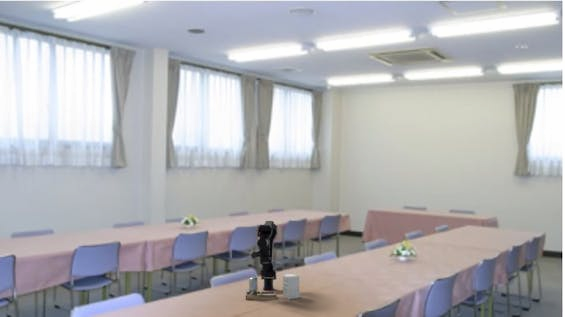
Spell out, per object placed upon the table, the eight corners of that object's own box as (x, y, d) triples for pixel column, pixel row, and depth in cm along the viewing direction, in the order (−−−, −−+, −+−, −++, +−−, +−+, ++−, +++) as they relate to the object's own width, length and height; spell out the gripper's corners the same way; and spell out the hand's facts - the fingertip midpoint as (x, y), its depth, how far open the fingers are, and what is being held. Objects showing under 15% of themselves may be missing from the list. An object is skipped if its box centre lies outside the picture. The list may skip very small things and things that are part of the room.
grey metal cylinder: (248, 295, 296) (248, 277, 296) (256, 294, 297) (256, 277, 298) (250, 296, 291) (250, 278, 292) (258, 296, 292) (258, 278, 293)
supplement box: (293, 295, 300) (293, 273, 301) (299, 298, 294) (299, 275, 294) (282, 296, 297) (282, 274, 298) (288, 299, 290) (288, 277, 291)
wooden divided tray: (245, 296, 298) (245, 291, 298) (275, 295, 299) (275, 291, 299) (245, 299, 289) (245, 295, 289) (276, 299, 290) (276, 294, 290)
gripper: (250, 244, 311) (250, 269, 310) (251, 248, 292) (251, 275, 292) (269, 243, 312) (269, 269, 311) (270, 248, 293) (270, 275, 293)
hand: (264, 272), depth 302 cm, fingers open, 9 cm apart
